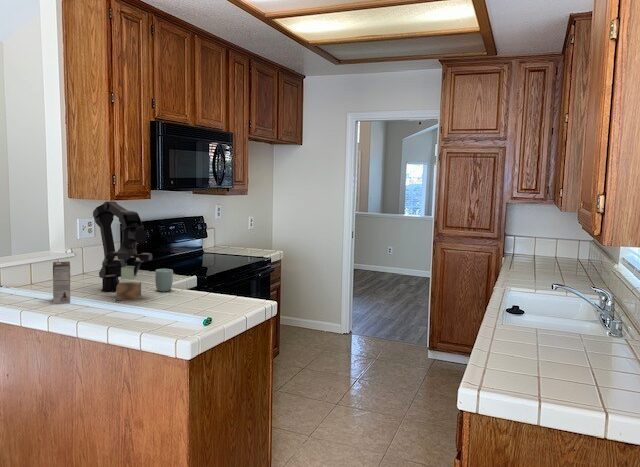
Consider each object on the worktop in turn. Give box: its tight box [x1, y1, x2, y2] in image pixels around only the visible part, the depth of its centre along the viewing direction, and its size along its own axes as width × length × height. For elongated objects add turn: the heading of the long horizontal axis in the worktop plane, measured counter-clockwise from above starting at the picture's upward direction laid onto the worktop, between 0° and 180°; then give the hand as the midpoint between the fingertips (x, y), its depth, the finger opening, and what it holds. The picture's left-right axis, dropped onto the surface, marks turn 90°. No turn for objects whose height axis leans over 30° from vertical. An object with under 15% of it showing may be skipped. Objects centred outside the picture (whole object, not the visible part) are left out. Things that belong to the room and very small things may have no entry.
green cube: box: [120, 265, 138, 280], centre depth 215 cm, size 5×5×5 cm
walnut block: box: [115, 281, 142, 301], centre depth 216 cm, size 9×9×6 cm
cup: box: [154, 268, 174, 293], centre depth 231 cm, size 8×8×10 cm
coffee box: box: [52, 260, 71, 305], centre depth 204 cm, size 9×6×16 cm
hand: (129, 275), depth 215 cm, fingers closed on green cube, 5 cm apart
